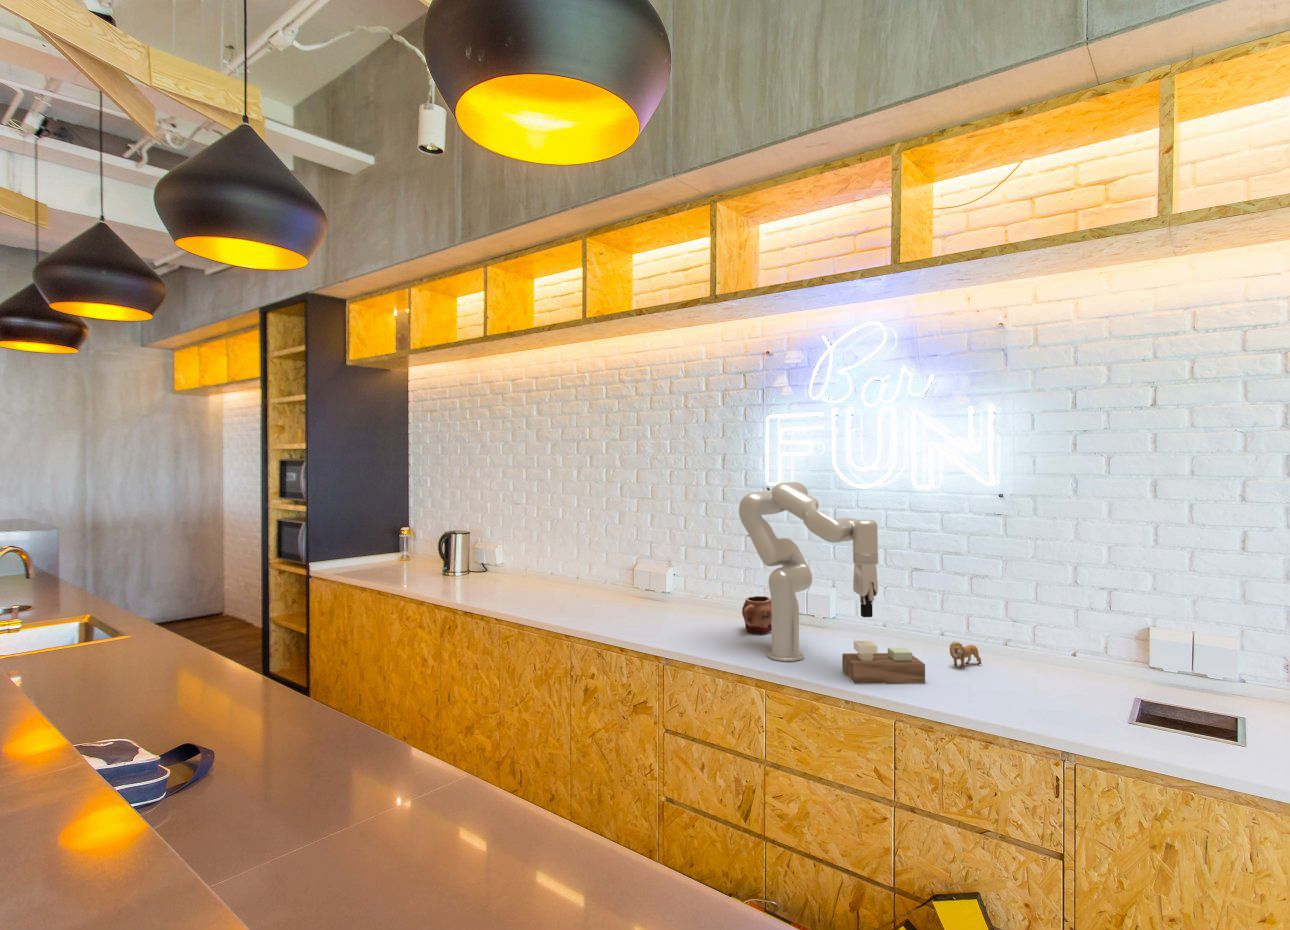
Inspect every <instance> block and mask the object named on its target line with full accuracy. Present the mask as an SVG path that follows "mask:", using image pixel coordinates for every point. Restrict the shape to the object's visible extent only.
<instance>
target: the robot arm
mask: <svg viewBox="0 0 1290 930" xmlns="http://www.w3.org/2000/svg"><path fill="white" fill-rule="evenodd" d="M819 504H820V503H819V501H818V500H817V499H816V498H815V497H813V496H811V495H810V494H809V491H808V489H807V487H806V486H805V484H802V483H801V482H797V481H790V482H788V481H787V482H780V483H778V484H776V485H775V486H774V487H773V488H772V490H771V491H756V492H755V491H754V492H750V493H748V494H746V495H745V496H743V498H741V500H740V502H739V506H738V515H739V516H738V517H739V519H740V522H741V524H742V526H743V527H744V529H745V531H746V532H747V534H748V536H749V537H750V539H751V542H752V544H753V546H754V547H755V550H756V552H757V554H758V556H759V558H760V560H761V562H762V564H764V565H765V566H767V567H777V566H782V567H778V568H775V569H774V570H772V572H771V573H770V574H769V576H768V589H769V593H770V594H769V595H770V599H771V613H772V621H771V627H772V631H771V649H769V650H768V651H767V652H766V654H767V655H766V656H767V657H768V658H769V659H771V660H774V661H777V662H778V661H779V662H787V661H791V662H798V660H799V661H801V660H803V659H804V657H805V655H804V653H803V652H802V651H800V607H799V606H800V605H799V601H798V599H797V596H796V593H799V592H802V591H806V590H808V589H810V587H811V585H812V583H813V575H812V572H811V569H810V566H809V565H808V563H807V561H806V559H805V557H804V555H803V553H802V552H801V550H800V548H799V547H798V545H797V544H796V542H794V541H793V540H792V539H790V538H785V537H784V538H783V537H782V538H781V537H780V538H778V537H777V535H776V533H775V531H774V530H773V528H772V526H771V524H770V523H769V522H767V520H766V519H764V517H763V516H765V515H768V516H769V515H775V514H779V513H783V512H786V511H787V512H789V513H791V514H792V515H794V516H795V517H797V518H799V520H802V522H803V524H804V525H805V526H806V528H807V530H809V531H810V532H811V533H812V534H814V535H815V536H817V537H819V538H820V539H822V540H824V541H826V542H827V543H832V544H836V543H843V542H850V541H852V559H853V560H852V561H853V564H854V565H853V576H852V577H853V583H852V590H853V592H854V593H855V594H857V595H859V600H860V601H859V602H860V616H861V617H862V618H873V603H874V601H875V597H876V596H877V595H878V591H879V589H878V588H879V587H878V585H879V584H878V571H877V565H878V564H879V553H878V552H879V549H878V548H879V547H878V544H879V543H878V540H879V539H878V538H879V537H878V523H877V521H875V520H873V519H855V518H851V517H844V518H843V517H842V518H841V517H840V518H831V517H829V516H828V515H825V514H824V513H822V511H819V506H820V505H819Z"/></svg>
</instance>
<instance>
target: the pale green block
mask: <svg viewBox="0 0 1290 930" xmlns="http://www.w3.org/2000/svg"><path fill="white" fill-rule="evenodd" d="M887 653H888V656H889V657H891V658H892V659H893V660H894V661H908V660H912V655H913V652H912V651H911V650H910V649H908V648H906V647H905V646H904V647H903V646H902V647H887Z"/></svg>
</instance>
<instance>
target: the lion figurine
mask: <svg viewBox="0 0 1290 930" xmlns="http://www.w3.org/2000/svg"><path fill="white" fill-rule="evenodd" d="M949 655H950V656H951V657H952V659H953V665H954V666H956V665H957V666H958V662H957V661H959V660H960V667H964V668H965V662H966V663H969V664H970V662H971V660H972V655H973V657H974V658H976V662H977V665H978V664H981V665H982V658H981V657H980V654H979V650H978V647H977V646H976V645H974V644H968V645H966V646H963V644H962V643H961V642H959V641H953V642H951V643H950V645H949ZM966 658H967V661H965V659H966ZM957 666H956V667H957Z"/></svg>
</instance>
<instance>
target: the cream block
mask: <svg viewBox="0 0 1290 930" xmlns="http://www.w3.org/2000/svg"><path fill="white" fill-rule="evenodd" d="M853 650H854V651H856V652H857V653H858V659H859V660H860V661H873V654H877V653H878V645H877V644H876V643H875V642H873V640H853Z"/></svg>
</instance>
